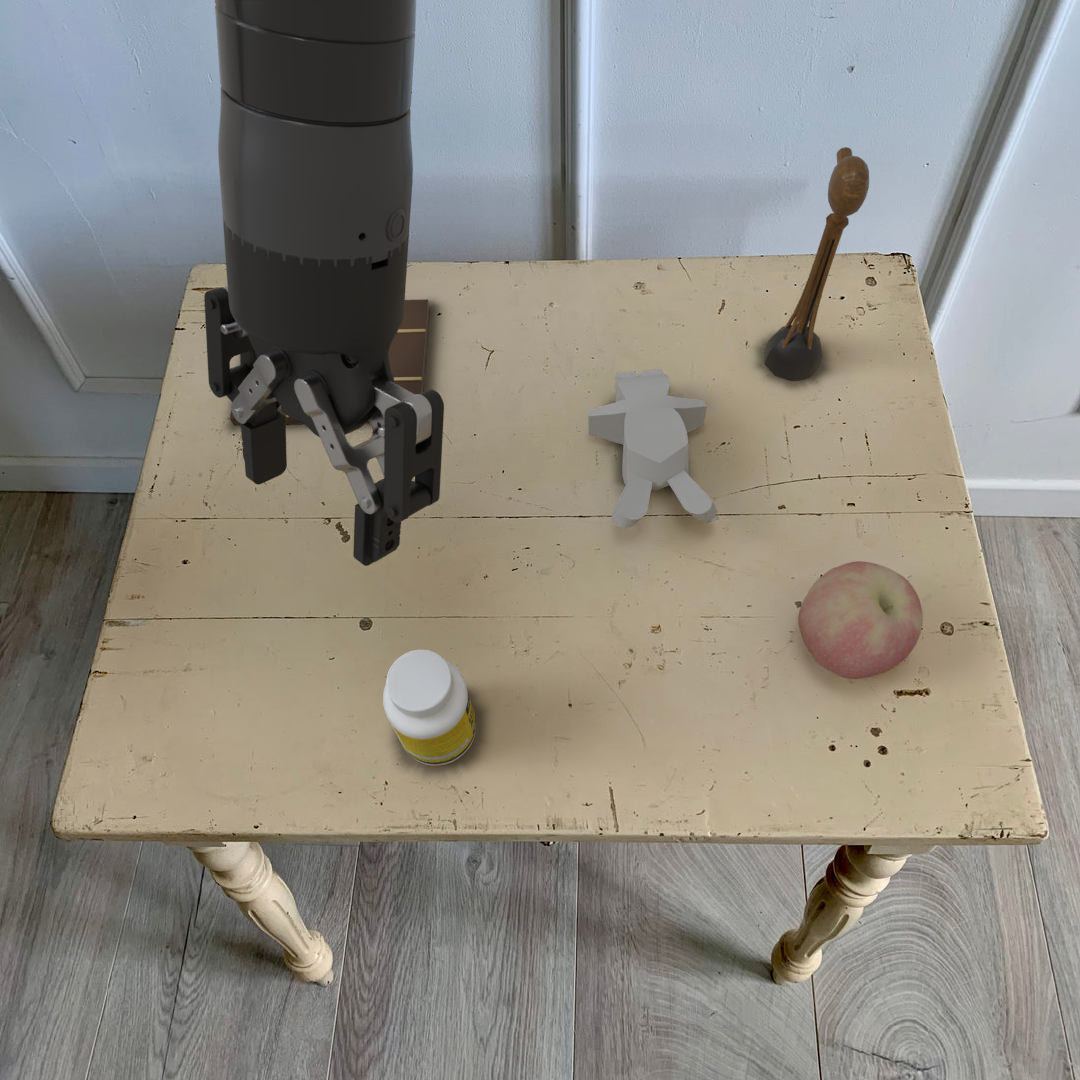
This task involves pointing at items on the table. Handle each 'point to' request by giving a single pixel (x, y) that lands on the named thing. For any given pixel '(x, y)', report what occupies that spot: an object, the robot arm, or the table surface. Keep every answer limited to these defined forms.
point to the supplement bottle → (429, 707)
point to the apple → (860, 620)
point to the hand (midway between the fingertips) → (318, 515)
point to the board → (402, 351)
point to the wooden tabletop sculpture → (818, 275)
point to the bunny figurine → (651, 444)
